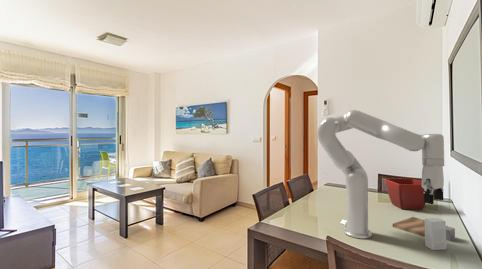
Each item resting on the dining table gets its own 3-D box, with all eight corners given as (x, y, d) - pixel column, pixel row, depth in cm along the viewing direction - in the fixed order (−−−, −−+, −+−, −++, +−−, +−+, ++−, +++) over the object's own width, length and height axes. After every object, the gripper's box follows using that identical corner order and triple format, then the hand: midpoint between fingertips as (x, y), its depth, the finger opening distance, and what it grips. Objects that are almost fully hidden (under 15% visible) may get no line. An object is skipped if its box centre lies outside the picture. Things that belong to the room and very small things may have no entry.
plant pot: (413, 202, 166) (413, 178, 166) (432, 211, 147) (432, 184, 147) (384, 202, 168) (384, 178, 168) (399, 211, 149) (399, 184, 149)
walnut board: (392, 226, 125) (392, 223, 125) (412, 219, 135) (412, 216, 135) (428, 238, 111) (428, 234, 111) (447, 229, 121) (447, 226, 121)
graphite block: (436, 237, 112) (436, 226, 112) (441, 235, 115) (441, 224, 115) (449, 241, 108) (449, 230, 108) (454, 239, 110) (454, 228, 110)
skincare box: (437, 245, 104) (437, 217, 104) (446, 249, 100) (446, 221, 100) (424, 245, 104) (424, 218, 104) (432, 250, 100) (432, 221, 100)
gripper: (431, 160, 112) (432, 196, 112) (413, 163, 103) (414, 202, 103) (452, 161, 105) (452, 200, 105) (434, 164, 96) (435, 207, 97)
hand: (433, 201), depth 104 cm, fingers open, 9 cm apart
